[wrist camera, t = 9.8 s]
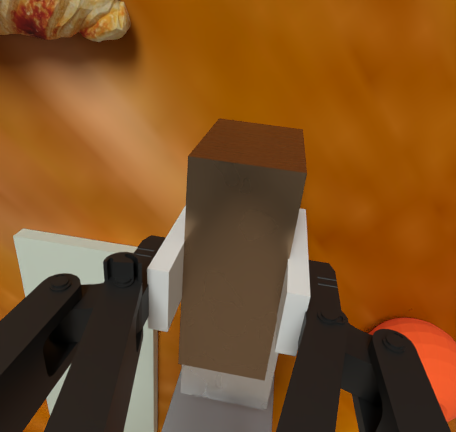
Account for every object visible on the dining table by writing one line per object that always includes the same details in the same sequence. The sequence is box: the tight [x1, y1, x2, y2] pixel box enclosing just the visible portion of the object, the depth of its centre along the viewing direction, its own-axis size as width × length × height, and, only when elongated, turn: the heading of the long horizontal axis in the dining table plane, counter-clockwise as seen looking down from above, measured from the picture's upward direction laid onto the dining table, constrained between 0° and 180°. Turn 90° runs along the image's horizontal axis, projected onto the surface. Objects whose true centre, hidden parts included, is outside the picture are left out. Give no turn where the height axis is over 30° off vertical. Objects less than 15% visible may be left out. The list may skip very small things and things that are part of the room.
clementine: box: [368, 318, 456, 422], centre depth 26 cm, size 8×7×7 cm
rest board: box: [13, 229, 158, 432], centre depth 34 cm, size 11×22×1 cm, turn 175°
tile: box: [161, 369, 274, 432], centre depth 29 cm, size 8×2×10 cm, turn 85°
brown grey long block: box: [178, 119, 307, 410], centre depth 19 cm, size 19×6×6 cm, turn 175°
